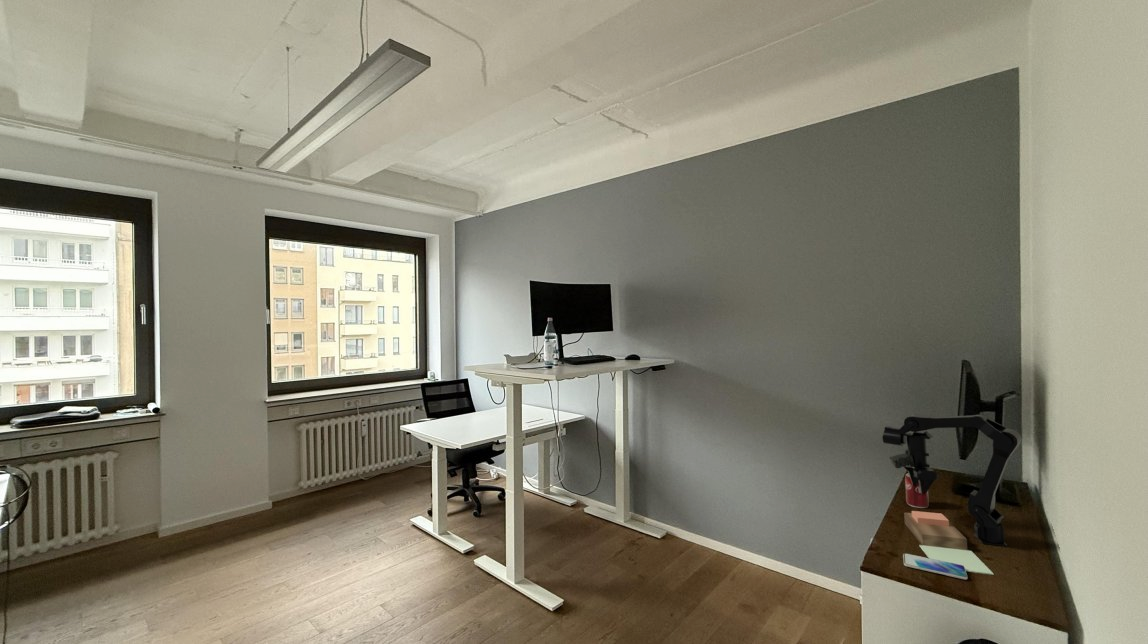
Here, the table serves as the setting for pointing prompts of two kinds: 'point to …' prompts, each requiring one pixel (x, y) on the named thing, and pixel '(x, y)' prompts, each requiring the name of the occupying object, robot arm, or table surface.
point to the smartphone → (935, 566)
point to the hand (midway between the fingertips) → (919, 490)
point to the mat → (957, 558)
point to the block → (930, 518)
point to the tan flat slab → (936, 534)
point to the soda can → (915, 494)
